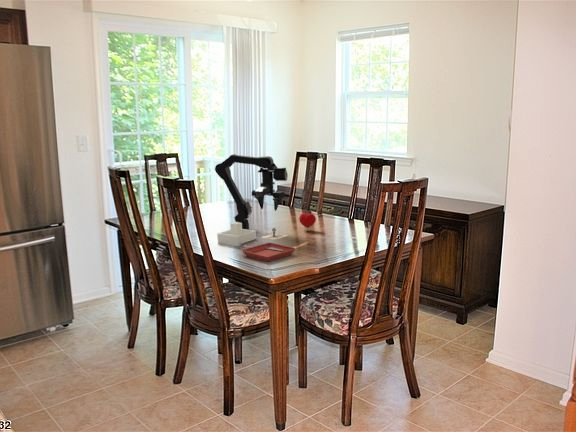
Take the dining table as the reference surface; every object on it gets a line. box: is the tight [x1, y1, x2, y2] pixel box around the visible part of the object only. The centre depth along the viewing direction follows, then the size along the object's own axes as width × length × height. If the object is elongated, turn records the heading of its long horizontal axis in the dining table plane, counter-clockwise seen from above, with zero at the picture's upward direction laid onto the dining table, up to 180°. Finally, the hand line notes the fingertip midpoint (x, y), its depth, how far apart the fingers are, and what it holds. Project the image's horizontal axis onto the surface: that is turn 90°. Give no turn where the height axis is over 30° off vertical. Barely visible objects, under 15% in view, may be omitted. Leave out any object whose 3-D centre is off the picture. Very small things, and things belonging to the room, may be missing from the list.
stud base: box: [260, 227, 289, 241], centre depth 287 cm, size 10×10×5 cm
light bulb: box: [298, 212, 317, 232], centre depth 298 cm, size 9×7×10 cm
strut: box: [230, 221, 242, 236], centre depth 282 cm, size 4×4×9 cm
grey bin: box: [216, 228, 257, 247], centre depth 282 cm, size 14×14×5 cm
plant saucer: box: [241, 242, 296, 262], centre depth 257 cm, size 18×18×3 cm
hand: (268, 209), depth 299 cm, fingers open, 9 cm apart
